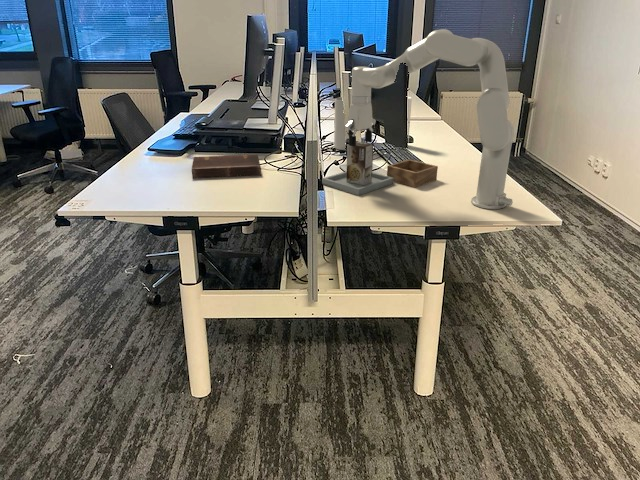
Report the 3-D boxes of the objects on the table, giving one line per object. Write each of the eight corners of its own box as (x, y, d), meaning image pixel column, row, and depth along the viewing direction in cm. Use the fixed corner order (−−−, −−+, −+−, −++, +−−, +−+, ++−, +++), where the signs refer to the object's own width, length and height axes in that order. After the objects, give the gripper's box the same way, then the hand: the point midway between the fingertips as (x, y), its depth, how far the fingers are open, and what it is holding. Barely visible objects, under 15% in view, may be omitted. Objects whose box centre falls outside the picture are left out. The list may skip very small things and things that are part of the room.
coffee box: (372, 182, 216) (374, 143, 210) (364, 185, 211) (366, 146, 205) (353, 178, 221) (354, 140, 214) (345, 181, 216) (346, 143, 210)
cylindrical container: (407, 147, 274) (411, 98, 264) (394, 146, 275) (397, 98, 265) (408, 144, 280) (412, 96, 270) (395, 143, 282) (398, 96, 272)
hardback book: (192, 179, 222) (191, 168, 220) (194, 167, 239) (193, 156, 237) (260, 176, 226) (260, 165, 224) (258, 165, 243) (257, 154, 241)
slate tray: (393, 183, 217) (393, 177, 216) (358, 195, 203) (358, 189, 202) (357, 173, 230) (357, 168, 229) (322, 184, 216) (322, 178, 215)
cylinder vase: (356, 151, 266) (358, 101, 256) (332, 150, 268) (333, 100, 258) (359, 145, 277) (360, 97, 267) (335, 144, 279) (336, 96, 269)
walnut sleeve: (436, 179, 222) (437, 166, 220) (415, 187, 212) (416, 173, 210) (407, 172, 232) (408, 159, 229) (386, 179, 222) (387, 165, 220)
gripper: (368, 96, 211) (367, 138, 217) (338, 101, 199) (338, 146, 206) (382, 98, 206) (381, 141, 212) (353, 103, 194) (353, 149, 201)
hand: (360, 143), depth 209 cm, fingers open, 9 cm apart
